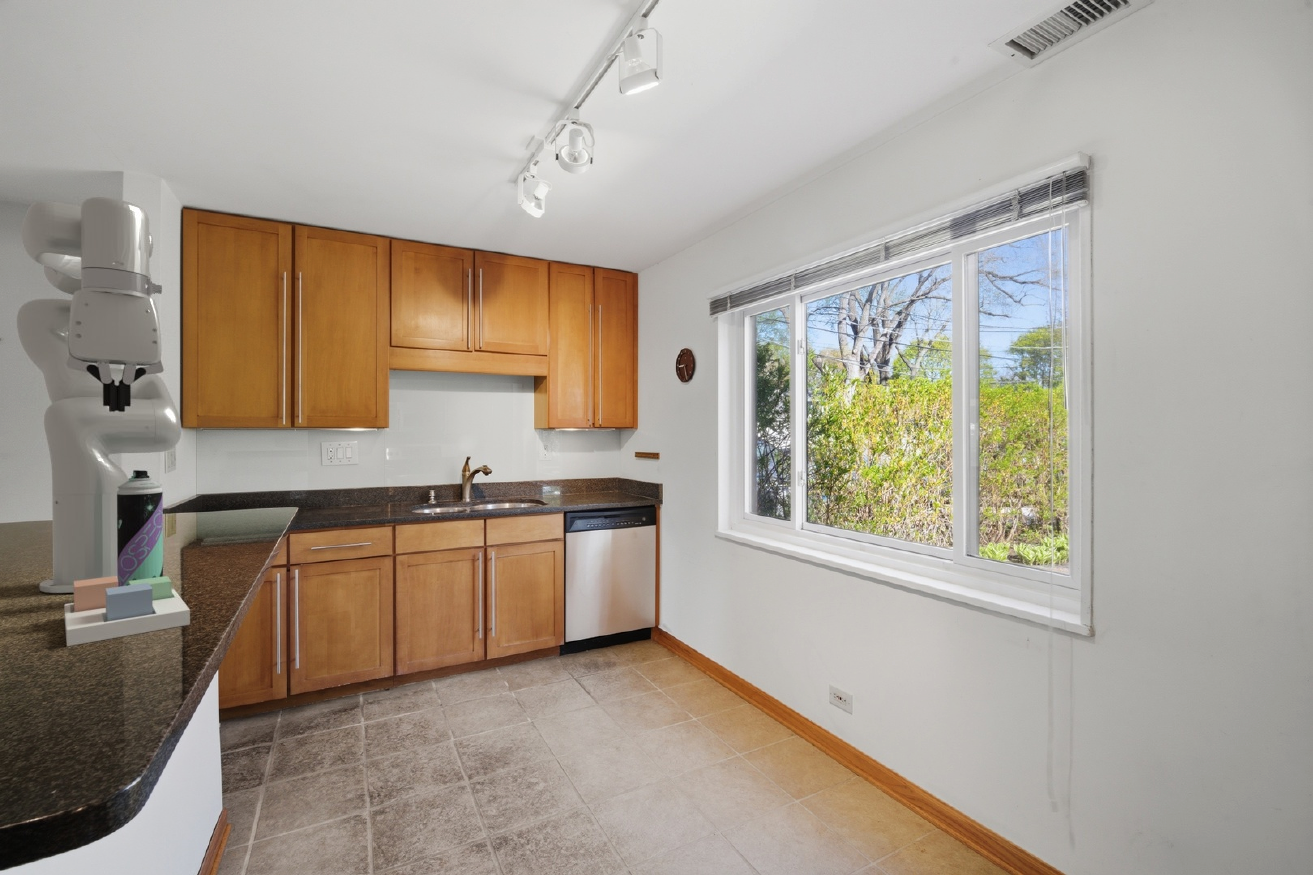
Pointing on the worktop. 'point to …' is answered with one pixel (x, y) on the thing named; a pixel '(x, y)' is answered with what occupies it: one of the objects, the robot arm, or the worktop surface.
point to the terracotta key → (92, 593)
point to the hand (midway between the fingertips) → (116, 411)
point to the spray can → (139, 529)
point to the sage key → (157, 587)
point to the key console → (123, 621)
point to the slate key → (128, 601)
